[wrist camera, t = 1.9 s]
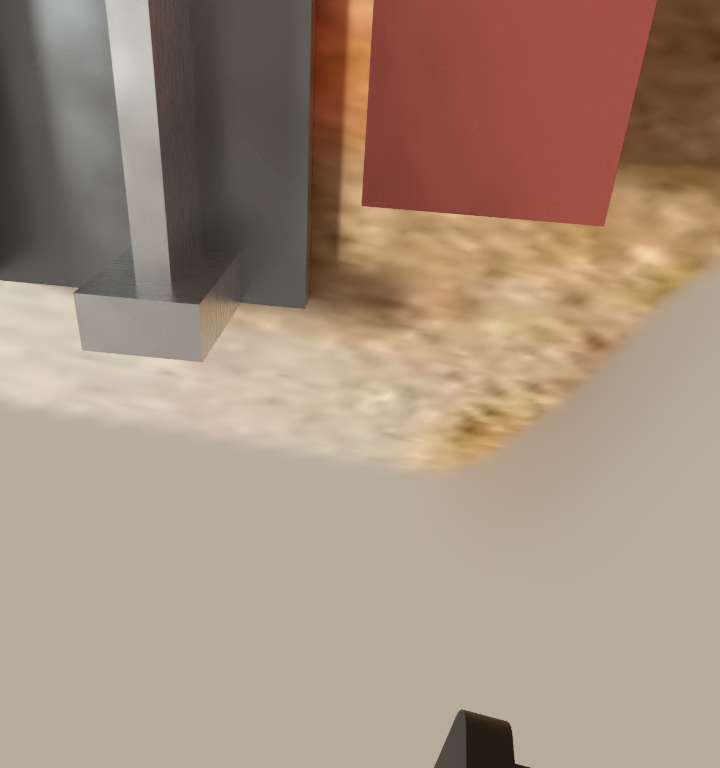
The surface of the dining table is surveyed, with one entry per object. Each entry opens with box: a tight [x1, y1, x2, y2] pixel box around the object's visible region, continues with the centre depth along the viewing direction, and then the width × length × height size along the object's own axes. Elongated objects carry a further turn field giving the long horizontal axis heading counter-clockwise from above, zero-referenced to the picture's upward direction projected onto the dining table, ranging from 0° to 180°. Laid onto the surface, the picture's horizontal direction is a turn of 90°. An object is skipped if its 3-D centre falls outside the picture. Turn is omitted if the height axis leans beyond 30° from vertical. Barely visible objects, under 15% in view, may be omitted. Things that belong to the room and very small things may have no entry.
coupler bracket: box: [0, 0, 316, 362], centre depth 22 cm, size 12×14×6 cm
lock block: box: [362, 0, 657, 226], centre depth 19 cm, size 6×6×8 cm
